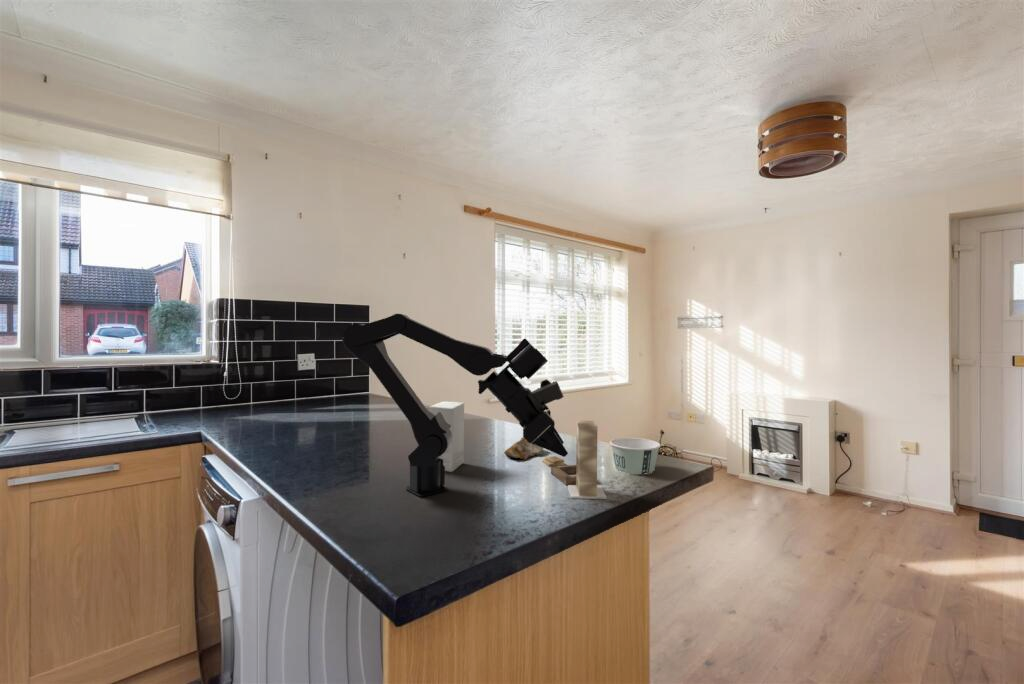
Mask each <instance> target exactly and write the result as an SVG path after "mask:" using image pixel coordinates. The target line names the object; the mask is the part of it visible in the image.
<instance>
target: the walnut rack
mask: <svg viewBox="0 0 1024 684" xmlns="http://www.w3.org/2000/svg"><path fill="white" fill-rule="evenodd" d="M550 474H551V475H552V476H554V477H555V478H556V479H558V480H559V481H560V482H561V483H562V484H563V485H565V486H568V485H576V475H570V474H576V464H570V465H569V464H568V465H563V466H550Z"/></svg>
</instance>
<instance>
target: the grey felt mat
mask: <svg viewBox="0 0 1024 684" xmlns="http://www.w3.org/2000/svg"><path fill="white" fill-rule="evenodd" d="M567 490H568V492H569V495H570V499H581V500H583V499H584V500H585V499H586V500H587V499H588V500H590V499H591V500H592V499H593V500H607V495H606V493H605V491H604V490H603V488H602V486H601V485H597V496H579V493H578V490H577V487H576V485H567Z"/></svg>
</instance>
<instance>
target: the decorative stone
mask: <svg viewBox="0 0 1024 684" xmlns="http://www.w3.org/2000/svg"><path fill="white" fill-rule="evenodd" d="M543 450H544V448H542V447H540V446H537V445H535V444H534V445H533V444H532V443H529V442H528V441H527V440H526V439H525V438H524V437H523V436H522V437H521V438H520V439H519V440H518V441H516V442H515V443H514V444H512V445H511V446H510V447H509V448H507V449H506V450H505V451H504V452H503V453H504V455H506V456H508V457H511V458H513V457H514V459H518V458H520V459H519V460H523V459H524V460H525V461H526V460H527V459H528V458H530V457H533V456H535V455H536V456H538V455H540V454H541V453H542V452H543Z"/></svg>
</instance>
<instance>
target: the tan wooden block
mask: <svg viewBox="0 0 1024 684" xmlns="http://www.w3.org/2000/svg"><path fill="white" fill-rule="evenodd" d="M575 451H576V453H575V454H576V455H575V457H576V459H575V460H576V461H575V463H576V464H575V465H576V473H575V476H576V487H577V490H578V493H579V496H597V486H598V425H597V423H596V422H595V421H594V420H576V449H575Z"/></svg>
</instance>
